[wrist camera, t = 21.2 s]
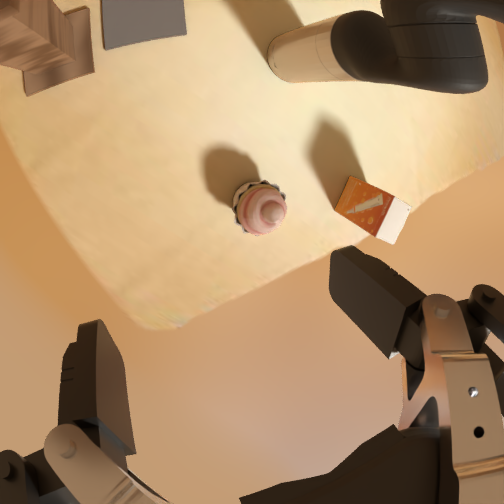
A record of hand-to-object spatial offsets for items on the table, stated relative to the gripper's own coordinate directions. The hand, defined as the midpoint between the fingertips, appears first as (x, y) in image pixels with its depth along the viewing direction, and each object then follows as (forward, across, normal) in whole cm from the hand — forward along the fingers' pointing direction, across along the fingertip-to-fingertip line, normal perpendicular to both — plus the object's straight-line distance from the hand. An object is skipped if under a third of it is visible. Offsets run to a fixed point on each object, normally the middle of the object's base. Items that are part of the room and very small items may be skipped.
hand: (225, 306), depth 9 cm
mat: (+38, -1, -25) cm, 46 cm away
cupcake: (+38, -14, +12) cm, 43 cm away
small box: (+38, -36, +16) cm, 55 cm away
